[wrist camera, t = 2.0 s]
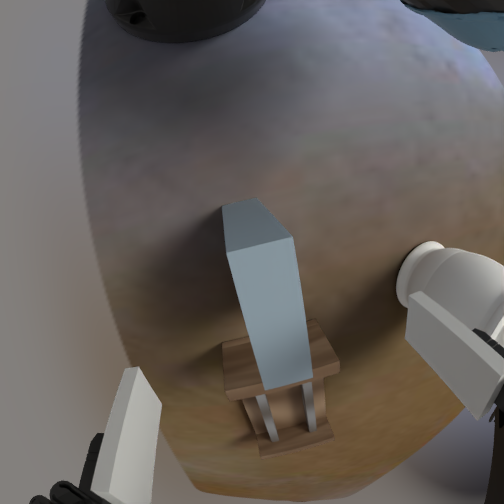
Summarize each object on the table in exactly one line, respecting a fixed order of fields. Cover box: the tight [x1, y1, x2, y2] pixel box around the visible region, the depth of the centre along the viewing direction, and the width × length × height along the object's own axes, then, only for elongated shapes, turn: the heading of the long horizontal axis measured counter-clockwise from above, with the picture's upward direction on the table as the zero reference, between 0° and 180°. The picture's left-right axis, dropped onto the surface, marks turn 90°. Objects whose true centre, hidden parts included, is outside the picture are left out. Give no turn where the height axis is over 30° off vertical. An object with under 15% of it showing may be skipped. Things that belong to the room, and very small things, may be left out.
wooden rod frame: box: [222, 319, 340, 460], centre depth 28 cm, size 18×10×7 cm, turn 12°
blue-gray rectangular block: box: [222, 198, 313, 390], centre depth 20 cm, size 9×3×12 cm, turn 12°
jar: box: [396, 241, 504, 348], centre depth 22 cm, size 11×10×15 cm
